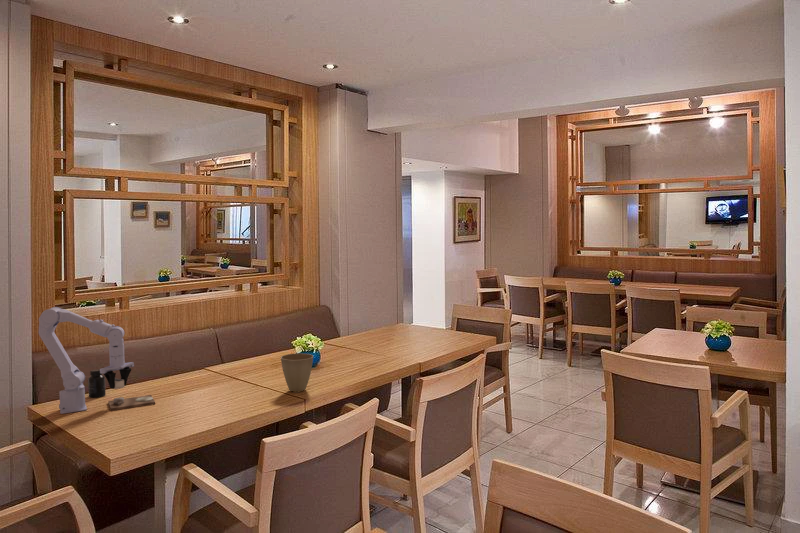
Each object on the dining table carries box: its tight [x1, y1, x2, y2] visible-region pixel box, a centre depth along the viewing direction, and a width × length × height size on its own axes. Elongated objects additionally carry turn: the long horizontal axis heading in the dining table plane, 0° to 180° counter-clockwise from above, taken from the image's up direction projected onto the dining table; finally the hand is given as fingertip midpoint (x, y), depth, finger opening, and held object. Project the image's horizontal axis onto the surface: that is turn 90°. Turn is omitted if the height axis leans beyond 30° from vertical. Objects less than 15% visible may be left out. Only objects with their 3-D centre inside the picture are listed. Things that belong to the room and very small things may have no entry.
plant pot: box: [280, 353, 314, 392], centre depth 259 cm, size 15×15×16 cm
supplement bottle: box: [87, 368, 107, 399], centre depth 253 cm, size 7×7×12 cm
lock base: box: [108, 394, 156, 412], centre depth 241 cm, size 17×13×3 cm
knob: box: [113, 377, 125, 390], centre depth 238 cm, size 5×5×4 cm
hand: (118, 386), depth 238 cm, fingers closed on knob, 5 cm apart
